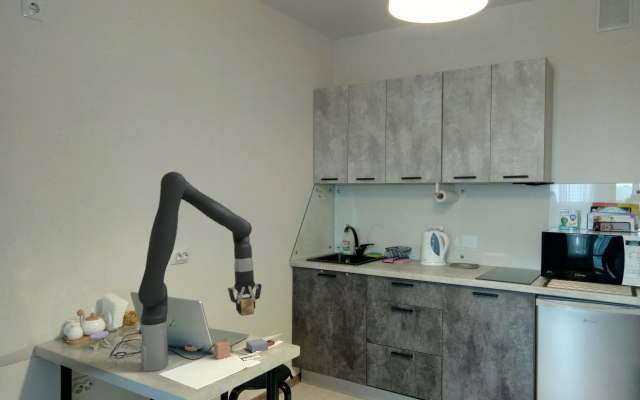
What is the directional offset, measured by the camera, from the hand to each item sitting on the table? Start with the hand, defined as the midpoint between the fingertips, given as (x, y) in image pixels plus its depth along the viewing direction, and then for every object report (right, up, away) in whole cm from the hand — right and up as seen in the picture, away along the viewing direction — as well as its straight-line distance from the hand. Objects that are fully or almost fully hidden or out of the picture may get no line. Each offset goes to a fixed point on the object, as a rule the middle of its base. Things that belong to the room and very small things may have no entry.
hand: (246, 311), depth 181 cm
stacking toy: (-24, -19, +10) cm, 32 cm away
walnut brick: (0, -1, 0) cm, 1 cm away
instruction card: (+2, -18, -2) cm, 18 cm away
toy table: (-67, -20, +16) cm, 72 cm away
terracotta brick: (-10, -18, 0) cm, 21 cm away
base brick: (+3, -18, +8) cm, 20 cm away
